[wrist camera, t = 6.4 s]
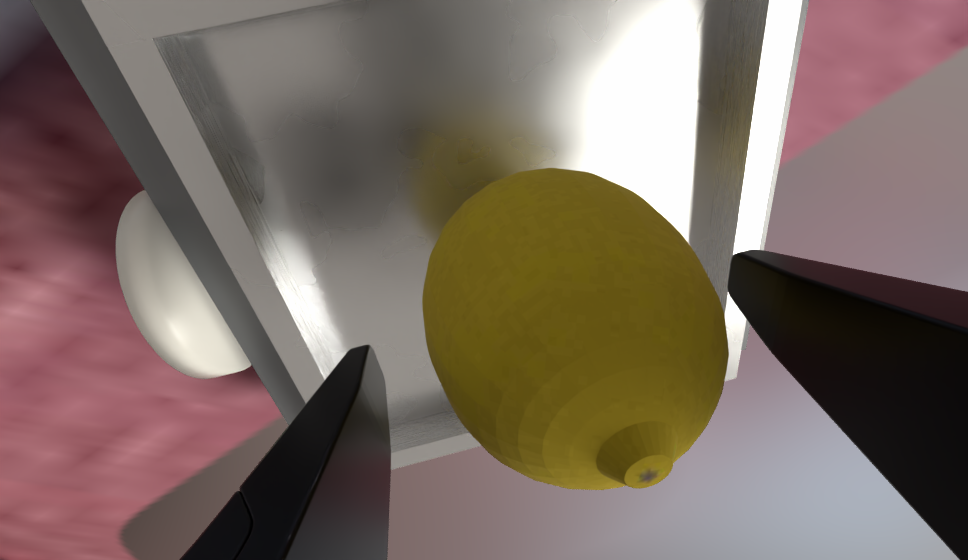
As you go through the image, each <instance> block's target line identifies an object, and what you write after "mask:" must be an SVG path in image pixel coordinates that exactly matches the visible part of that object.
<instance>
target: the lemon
mask: <svg viewBox="0 0 968 560" xmlns="http://www.w3.org/2000/svg"><path fill="white" fill-rule="evenodd" d="M422 307H423V318H424V328H425V337H426V343H427V348H428V352H429V356H430V359H431V362H432V365H433V367H434V369H435V372H436V374H437V376H438V379H439V381H440V383H441V385H442V387H443V390H444V392H445V394H446V396H447V398H448V400H449V402H450V404H451V406H452V408H453V410H454V412H455V413H456V415H457V417H458V418H459V420H460V421H461V423H462V424H463V425H464V427H465V428H466V429H467V430H468V431H469V433H470V434H471V435H472V436H473V437H474V438H475V439H476V440H477V441H478V442H479V443H480V444H481V445H482V446H483V447H484V448H485V449H486V450H487V451H488V453H490V454H491V455H492V456H493V457H495V458H496V459H497V460H498V461H500V462H501V463H503V464H504V465H506V466H508V467H510V468H512V469H514V470H516V471H517V472H519V473H521V474H523V475H525V476H527V477H529V478H531V479H533V480H535V481H540V482H544V483H547V484H552V485H555V486H559V487H563V488H567V489H585V490H586V489H587V490H588V489H589V490H604V489H611V488H618V487H623V486H626V485H627V486H629V487H632V488H646V487H649V486H652V485H655V484H657V483H659V482H660V481H661V480H663V479H664V478H665V477H666V476H667V475H668V474H669V473H670V471H671V469H672V467H673V463H674V462H675V461H676V460H677V459H678V458H680V457H681V456H682V455H683V454H684V453H685V452H686V451H688V450H689V448H690V447H691V446H692V445H693V443H694V442H695V441H696V440H697V438H698V437H699V436H700V435H701V433H702V432H703V430H704V429H705V428H706V426H707V425H708V423H709V421H710V419H711V417H712V415H713V413H714V410H715V409H716V406H717V404H718V402H719V399H720V396H721V394H722V390H723V386H724V381H725V376H726V371H727V364H728V358H729V349H728V339H727V331H726V323H725V316H724V311H723V308H722V305H721V302H720V299H719V296H718V294H717V292H716V291H715V289H714V287H713V285H712V283H711V281H710V279H709V277H708V275H707V273H706V271H705V270H704V268H703V266H702V264H701V262H700V260H699V258H698V257H697V255H696V254H695V252H694V251H693V249H692V247H691V246H690V244H689V243H688V242H687V241H686V239H685V238H684V237H683V235H682V234H681V233H680V232H679V231H678V230H677V229H676V228H675V227H674V225H673V224H672V223H670V222H669V221H668V220H667V219H666V218H665V217H664V216H663V215H662V214H660V213H659V212H658V211H657V210H656V209H655V208H654V207H653V206H652V205H651V204H649V203H648V202H647V201H646V200H645V199H643V198H642V197H641V196H640V195H638V194H636V193H635V192H633V191H632V190H630V189H627V188H625V187H623V186H621V185H618V184H616V183H614V182H612V181H609V180H607V179H605V178H602V177H600V176H598V175H595V174H593V173H589V172H584V171H576V170H568V169H560V168H544V169H536V170H528V171H521V172H517V173H515V174H512V175H510V176H507V177H505V178H502V179H500V180H497V181H495V182H492V183H490V184H489V185H487V186H486V187H484V188H483V189H482V190H480V191H479V192H477V193H476V194H475V195H473V196H472V197H470V198H469V199H468V200H466V201H465V202H464V203H463V204H462V206H461V207H460V208H459V209H458V210H457V211H456V212H455V214H454V215H453V216H452V217H451V218H450V219H449V220H448V222H447V223H446V224H445V226H444V228H443V230H442V232H441V234H440V236H439V238H438V240H437V242H436V244H435V246H434V248H433V250H432V252H431V254H430V258H429V262H428V267H427V272H426V277H425V283H424V288H423V296H422Z"/></svg>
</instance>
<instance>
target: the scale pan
mask: <svg viewBox="0 0 968 560" xmlns="http://www.w3.org/2000/svg"><path fill="white" fill-rule="evenodd" d="M81 1H82V3H83V4H84V6H85V8H86V10H87V12H88V13H89V15H90V17H91V19H92V20H93V22H94V24H95V26H96V28H97V29H98V31H99V33H100V35H101V37H102V38H103V40H104V42H105V44H106V46H107V47H108V49H109V51H110V53H111V55H112V56H113V58H114V60H115V62H116V64H117V65H118V67H119V69H120V71H121V73H122V74H123V76H124V78H125V80H126V82H127V83H128V85H129V87H130V89H131V91H132V92H133V94H134V96H135V98H136V99H137V101H138V103H139V105H140V107H141V108H142V110H143V112H144V114H145V116H146V117H147V119H148V121H149V123H150V125H151V126H152V128H153V130H154V132H155V134H156V135H157V137H158V139H159V141H160V143H161V144H162V146H163V148H164V150H165V152H166V153H167V155H168V157H169V159H170V161H171V162H172V164H173V166H174V168H175V170H176V171H177V173H178V175H179V177H180V178H181V180H182V182H183V184H184V186H185V187H186V189H187V191H188V193H189V195H190V196H191V198H192V200H193V202H194V204H195V205H196V207H197V209H198V211H199V213H200V214H201V216H202V218H203V220H204V222H205V223H206V225H207V227H208V229H209V231H210V232H211V234H212V236H213V238H214V240H215V241H216V243H217V245H218V247H219V249H220V250H221V252H222V254H223V256H224V257H225V259H226V261H227V263H228V265H229V266H230V268H231V270H232V272H233V274H234V275H235V277H236V279H237V281H238V283H239V284H240V286H241V288H242V290H243V292H244V293H245V295H246V297H247V299H248V301H249V302H250V304H251V306H252V308H253V310H254V311H255V313H256V315H257V317H258V319H259V320H260V322H261V324H262V326H263V328H264V329H265V331H266V333H267V335H268V336H269V338H270V340H271V342H272V344H273V345H274V347H275V349H276V351H277V353H278V354H279V356H280V358H281V360H282V362H283V363H284V365H285V367H286V369H287V371H288V372H289V374H290V376H291V378H292V380H293V381H294V383H295V385H296V387H297V389H298V390H299V392H300V394H301V396H302V398H303V399H304V401H305V403H307V402H308V401H309V399H310V398H311V397H312V396H313V394H314V393H315V392H316V391H317V389H318V388H319V387H320V386H321V384H322V383H323V382H324V380H325V379H326V378H327V377H328V375H329V374H330V373H331V372H332V370H333V369H334V368H335V367H336V365H337V364H338V363H339V362H340V360H341V359H342V358H343V357H344V355H345V354H346V353H347V352H348V351H349V350H350V349H351V348H355V347H359V346H363V345H367V344H368V345H370V346H371V347H372V348H373V350H374V352H375V355H376V357H377V360H378V362H379V365H380V367H381V370H382V372H383V375H384V379H385V384H386V395H387V407H388V418H389V430H390V443H391V470H392V469H396V468H400V467H403V466H407V465H411V464H415V463H419V462H422V461H426V460H430V459H433V458H437V457H441V456H445V455H449V454H453V453H456V452H460V451H464V450H468V449H471V448H475V447H479V446H482V445H481V444H480V443H479V442H478V441H477V440H476V439H475V438H474V437H473V436H472V435H471V434H470V433H469V431H468V430H467V429H466V428H465V427H464V425H463V424H462V423H461V421H460V420H459V418H458V417H457V415H456V413H455V412H454V410H453V408H452V406H451V404H450V402H449V400H448V398H447V396H446V394H445V392H444V390H443V387H442V385H441V383H440V381H439V379H438V376H437V374H436V372H435V369H434V367H433V365H432V362H431V359H430V356H429V352H428V348H427V343H426V337H425V328H424V318H423V307H422V296H423V288H424V283H425V277H426V272H427V267H428V262H429V258H430V254H431V252H432V250H433V248H434V246H435V244H436V242H437V240H438V238H439V236H440V234H441V232H442V230H443V228H444V226H445V224H446V223H447V222H448V220H449V219H450V218H451V217H452V216H453V215H454V214H455V212H456V211H457V210H458V209H459V208H460V207H461V206H462V204H463V203H464V202H465V201H466V200H468V199H469V198H470V197H472V196H473V195H475V194H476V193H477V192H479V191H480V190H482V189H483V188H484V187H486V186H487V185H489V184H490V183H492V182H495V181H497V180H500V179H502V178H505V177H507V176H510V175H512V174H515V173H517V172H521V171H528V170H536V169H544V168H560V169H568V170H576V171H584V172H589V173H593V174H595V175H598V176H600V177H602V178H605V179H607V180H609V181H612V182H614V183H616V184H618V185H621V186H623V187H625V188H627V189H630V190H632V191H633V192H635V193H636V194H638V195H640V196H641V197H642V198H643V199H645V200H646V201H647V202H648V203H649V204H651V205H652V206H653V207H654V208H655V209H656V210H657V211H658V212H659V213H660V214H662V215H663V216H664V217H665V218H666V219H667V220H668V221H669V222H670V223H672V224H673V225H674V227H675V228H676V229H677V230H678V231H679V232H680V233H681V234H682V235H683V237H684V238H685V239H686V241H687V242H688V243H689V244H690V246H691V247H692V249H693V251H694V252H695V254H696V255H697V257H698V258H699V260H700V262H701V264H702V266H703V268H704V270H705V271H706V273H707V275H708V277H709V279H710V281H711V283H712V285H713V287H714V289H715V291H716V292H717V294H718V296H719V299H720V302H721V305H722V308H723V311H724V316H725V323H726V331H727V339H728V349H729V358H728V364H727V371H726V376H725V381H727V380H731V379H735V378H736V376H737V371H738V364H739V359H740V353H741V348H742V342H743V336H744V331H745V325H746V318H745V316H744V315H743V314H742V312H741V311H740V310H739V308H738V307H737V305H736V304H735V303H734V301H733V300H732V299H731V297H730V295H729V293H728V288H727V285H728V277H729V270H730V263H731V258H732V256H733V255H734V254H735V253H738V252H742V251H746V250H750V249H759V245H760V239H761V233H762V228H763V222H764V216H765V211H766V205H767V199H768V193H769V188H770V182H771V176H772V170H773V165H774V159H775V153H776V148H777V142H778V136H779V130H780V125H781V119H782V113H783V108H784V102H785V96H786V90H787V85H788V79H789V73H790V67H791V62H792V56H793V50H794V45H795V39H796V33H797V27H798V22H799V16H800V10H801V5H802V0H81Z"/></svg>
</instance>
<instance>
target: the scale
mask: <svg viewBox="0 0 968 560" xmlns="http://www.w3.org/2000/svg"><path fill="white" fill-rule="evenodd" d="M30 2H31V3H32V5H33V7H34V8H35V10H36V12H37V13H38V15H39V17H40V18H41V20H42V21H43V23H44V25H45V26H46V28H47V30H48V31H49V33H50V35H51V36H52V38H53V40H54V41H55V43H56V44H57V46H58V48H59V49H60V51H61V53H62V54H63V56H64V58H65V59H66V61H67V63H68V64H69V66H70V67H71V69H72V71H73V72H74V74H75V76H76V77H77V79H78V81H79V82H80V84H81V85H82V87H83V89H84V90H85V92H86V94H87V95H88V97H89V99H90V100H91V102H92V104H93V105H94V107H95V108H96V110H97V112H98V113H99V115H100V117H101V118H102V120H103V122H104V123H105V125H106V127H107V128H108V130H109V131H110V133H111V135H112V136H113V138H114V140H115V141H116V143H117V145H118V146H119V148H120V149H121V151H122V153H123V154H124V156H125V158H126V159H127V161H128V163H129V164H130V166H131V168H132V169H133V171H134V172H135V174H136V176H137V177H138V179H139V181H140V182H141V184H142V186H143V187H144V189H145V190H143V191H141V192H139V193H137V194H136V195H135V196H134V197H133V198H131V200H130V201H129V202H128V204H127V205H126V206H125V209H124V211H123V213H122V215H121V217H120V221H119V224H118V228H117V236H116V262H117V271H118V275H119V280H120V285H121V288H122V292H123V295H124V298H125V301H126V303H127V306H128V308H129V311H130V313H131V315H132V317H133V319H134V321H135V323H136V325H137V327H138V328H139V330H140V332H141V333H142V335H143V336H144V338H145V339H146V341H147V342H148V343H149V345H150V346H151V347H152V348H153V349H154V351H155V352H156V353H157V354H158V355H159V356H160V357H161V358H162V359H163V360H164V361H165V362H166V363H168V364H169V365H170V366H172V367H173V368H174V369H176V370H178V371H179V372H181V373H183V374H185V375H188V376H191V377H194V378H199V379H211V378H215V377H219V376H223V375H227V374H231V373H236V372H239V371H243V370H245V369H247V368H248V367H250V366H251V365H252V366H253V368H254V369H255V371H256V373H257V374H258V376H259V378H260V379H261V381H262V383H263V384H264V386H265V387H266V389H267V391H268V392H269V394H270V396H271V397H272V399H273V401H274V402H275V404H276V405H277V407H278V409H279V410H280V412H281V414H282V415H283V417H284V418H285V420H286V422H287V424H288V425H289V424H290V423H291V422H292V421H293V419H294V418H295V417H296V416H297V414H298V413H299V412H300V411H301V409H302V408H303V407H304V406H305V404H306V403H305V401H304V399H303V398H302V396H301V394H300V392H299V390H298V389H297V387H296V385H295V383H294V381H293V380H292V378H291V376H290V374H289V372H288V371H287V369H286V367H285V365H284V363H283V362H282V360H281V358H280V356H279V354H278V353H277V351H276V349H275V347H274V345H273V344H272V342H271V340H270V338H269V336H268V335H267V333H266V331H265V329H264V328H263V326H262V324H261V322H260V320H259V319H258V317H257V315H256V313H255V311H254V310H253V308H252V306H251V304H250V302H249V301H248V299H247V297H246V295H245V293H244V292H243V290H242V288H241V286H240V284H239V283H238V281H237V279H236V277H235V275H234V274H233V272H232V270H231V268H230V266H229V265H228V263H227V261H226V259H225V257H224V256H223V254H222V252H221V250H220V249H219V247H218V245H217V243H216V241H215V240H214V238H213V236H212V234H211V232H210V231H209V229H208V227H207V225H206V223H205V222H204V220H203V218H202V216H201V214H200V213H199V211H198V209H197V207H196V205H195V204H194V202H193V200H192V198H191V196H190V195H189V193H188V191H187V189H186V187H185V186H184V184H183V182H182V180H181V178H180V177H179V175H178V173H177V171H176V170H175V168H174V166H173V164H172V162H171V161H170V159H169V157H168V155H167V153H166V152H165V150H164V148H163V146H162V144H161V143H160V141H159V139H158V137H157V135H156V134H155V132H154V130H153V128H152V126H151V125H150V123H149V121H148V119H147V117H146V116H145V114H144V112H143V110H142V108H141V107H140V105H139V103H138V101H137V99H136V98H135V96H134V94H133V92H132V91H131V89H130V87H129V85H128V83H127V82H126V80H125V78H124V76H123V74H122V73H121V71H120V69H119V67H118V65H117V64H116V62H115V60H114V58H113V56H112V55H111V53H110V51H109V49H108V47H107V46H106V44H105V42H104V40H103V38H102V37H101V35H100V33H99V31H98V29H97V28H96V26H95V24H94V22H93V20H92V19H91V17H90V15H89V13H88V12H87V10H86V8H85V6H84V4H83V3H82V1H81V0H30ZM808 3H809V0H802V5H801V10H800V16H799V22H798V27H797V33H796V39H795V45H794V50H793V56H792V62H791V67H790V73H789V79H788V85H787V90H786V96H785V102H784V108H783V113H782V119H781V125H780V130H779V136H778V142H777V148H776V153H775V159H774V165H773V170H772V176H771V182H770V188H769V193H768V199H767V205H766V211H765V216H764V222H763V228H762V233H761V239H760V245H759V250H764V244H765V240H766V234H767V229H768V223H769V218H770V212H771V207H772V201H773V196H774V190H775V184H776V179H777V173H778V168H779V163H780V157H781V152H782V146H783V141H784V135H785V130H786V124H787V119H788V113H789V108H790V102H791V97H792V91H793V86H794V80H795V75H796V69H797V64H798V58H799V53H800V47H801V42H802V36H803V31H804V25H805V20H806V14H807V9H808ZM749 328H750V323H749V322H748V320H747V319H746V325H745V331H744V336H743V342H742V348H741V350H745V349H746V344H747V339H748V333H749Z"/></svg>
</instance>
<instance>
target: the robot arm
mask: <svg viewBox="0 0 968 560" xmlns="http://www.w3.org/2000/svg"><path fill="white" fill-rule="evenodd" d="M727 288H728V293H729V295H730V297H731V299H732V300H733V301H734V303H735V304H736V305H737V307H738V308H739V310H740V311H741V312H742V314H743V315H744V316H745V318H746V319H747V320H748V322H749V323H750V324H751V326H752V327H753V328H754V330H755V331H756V333H757V334H758V335H759V337H760V338H761V339H762V341H763V342H764V343H765V345H766V346H767V347H768V348H769V350H770V351H771V352H772V354H773V355H774V356H775V357H776V358H777V359H778V361H779V362H780V363H781V364H782V365H783V366H784V367H785V368H786V369H787V370H788V372H790V374H791V375H792V376H793V377H794V378H795V379H796V380H797V381H798V383H799V384H800V385H801V386H802V387H803V388H804V389H805V390H806V391H807V392H808V393H809V395H810V396H811V397H812V398H813V399H814V400H815V401H816V402H817V403H818V405H819V406H820V407H821V408H822V409H823V410H824V411H825V412H826V413H827V414H828V415H829V416H830V418H831V419H832V420H833V421H834V422H835V423H836V424H837V425H838V427H839V428H841V430H842V431H843V432H844V433H845V434H846V435H847V436H848V437H849V439H850V440H851V441H852V442H853V443H854V444H855V445H856V446H857V447H858V448H859V450H860V451H861V452H862V453H863V454H864V455H865V456H866V457H867V458H868V459H869V461H870V462H872V464H873V465H874V466H875V467H876V468H877V469H878V470H879V472H880V473H881V474H882V475H883V476H884V477H885V478H886V479H887V480H888V481H889V483H890V484H891V485H892V486H893V487H894V488H895V489H896V490H897V491H898V492H899V494H900V495H901V496H902V497H903V498H904V499H905V500H906V501H907V502H908V503H909V505H910V506H911V507H912V508H913V509H914V510H915V511H916V512H917V513H918V514H919V516H920V517H921V518H922V519H923V520H924V521H925V522H926V523H927V524H928V525H929V526H930V528H931V529H932V530H933V531H934V532H935V533H936V534H937V535H938V536H939V538H940V539H941V540H942V541H943V542H944V543H945V544H946V545H947V546H948V547H949V549H950V550H952V552H953V553H954V554H955V555H956V556H957V557H958V558H959V559H960V560H968V292H965V291H960V290H955V289H951V288H946V287H941V286H936V285H930V284H926V283H921V282H916V281H912V280H907V279H902V278H897V277H892V276H887V275H882V274H877V273H872V272H867V271H862V270H857V269H852V268H847V267H842V266H838V265H833V264H828V263H823V262H818V261H813V260H808V259H802V258H798V257H793V256H788V255H783V254H778V253H774V252H769V251H764V250H759V249H750V250H746V251H742V252H738V253H735V254H734V255H733V256H732V258H731V263H730V270H729V277H728V285H727ZM390 474H391V443H390V430H389V418H388V407H387V395H386V384H385V379H384V375H383V372H382V370H381V367H380V365H379V362H378V360H377V357H376V355H375V352H374V350H373V348H372V347H371V346H370V345H368V344H367V345H363V346H359V347H355V348H351V349H350V350H349V351H348V352H347V353H346V354H345V355H344V357H343V358H342V359H341V360H340V362H339V363H338V364H337V365H336V367H335V368H334V369H333V370H332V372H331V373H330V374H329V375H328V377H327V378H326V379H325V380H324V382H323V383H322V384H321V386H320V387H319V388H318V389H317V391H316V392H315V393H314V394H313V396H312V397H311V398H310V399H309V401H308V402H307V403H306V404H305V406H304V407H303V408H302V409H301V411H300V412H299V413H298V414H297V416H296V417H295V418H294V419H293V421H292V422H291V423H290V424H289V426H288V427H287V428H286V430H285V431H284V432H283V433H282V435H281V436H280V437H279V438H278V440H277V441H276V442H275V444H274V445H273V446H272V447H271V449H270V450H269V451H268V452H267V453H266V455H265V456H264V457H263V458H262V460H261V461H260V462H259V464H258V465H257V466H256V467H255V469H254V470H253V471H252V472H251V474H250V475H249V476H248V477H247V479H246V480H245V481H244V482H243V484H242V485H241V486H240V491H237V492H235V494H234V495H233V496H232V497H231V499H230V500H229V501H228V502H227V504H226V505H225V506H224V507H223V509H222V510H221V511H220V512H219V513H218V515H217V516H216V517H215V518H214V520H213V521H212V522H211V523H210V524H209V526H208V527H207V528H206V529H205V531H204V532H203V533H202V534H201V535H200V536H199V538H198V539H197V540H196V541H195V543H194V544H193V545H192V546H191V547H190V548H189V549H188V550H187V552H186V553H185V554H184V555H183V556H182V557H181V558H180V560H387V554H388V552H387V551H388V528H389V502H390V500H389V499H390V476H391V475H390Z"/></svg>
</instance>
